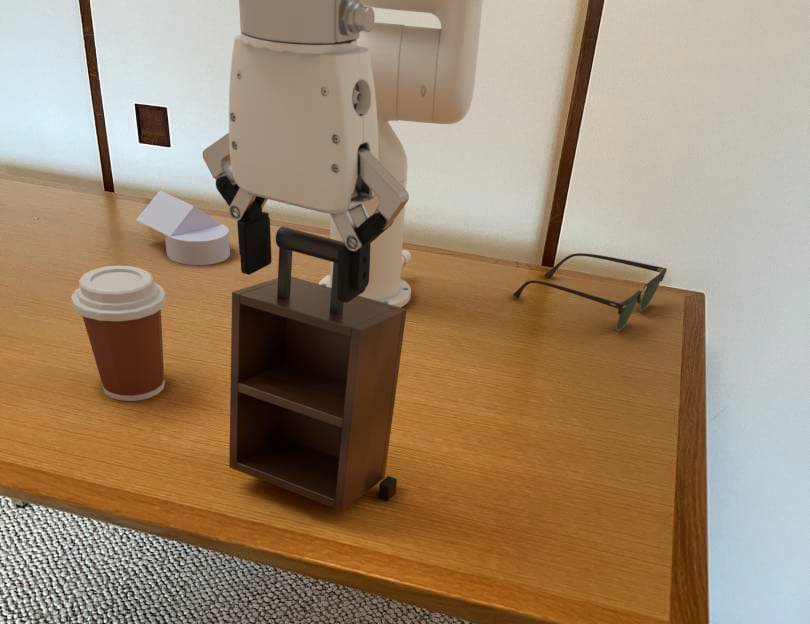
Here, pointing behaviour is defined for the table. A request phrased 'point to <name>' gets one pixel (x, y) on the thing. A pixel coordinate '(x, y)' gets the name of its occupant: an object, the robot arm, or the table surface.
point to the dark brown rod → (387, 488)
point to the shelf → (312, 380)
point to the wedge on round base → (187, 231)
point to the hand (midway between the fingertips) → (303, 281)
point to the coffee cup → (124, 329)
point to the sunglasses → (623, 308)
